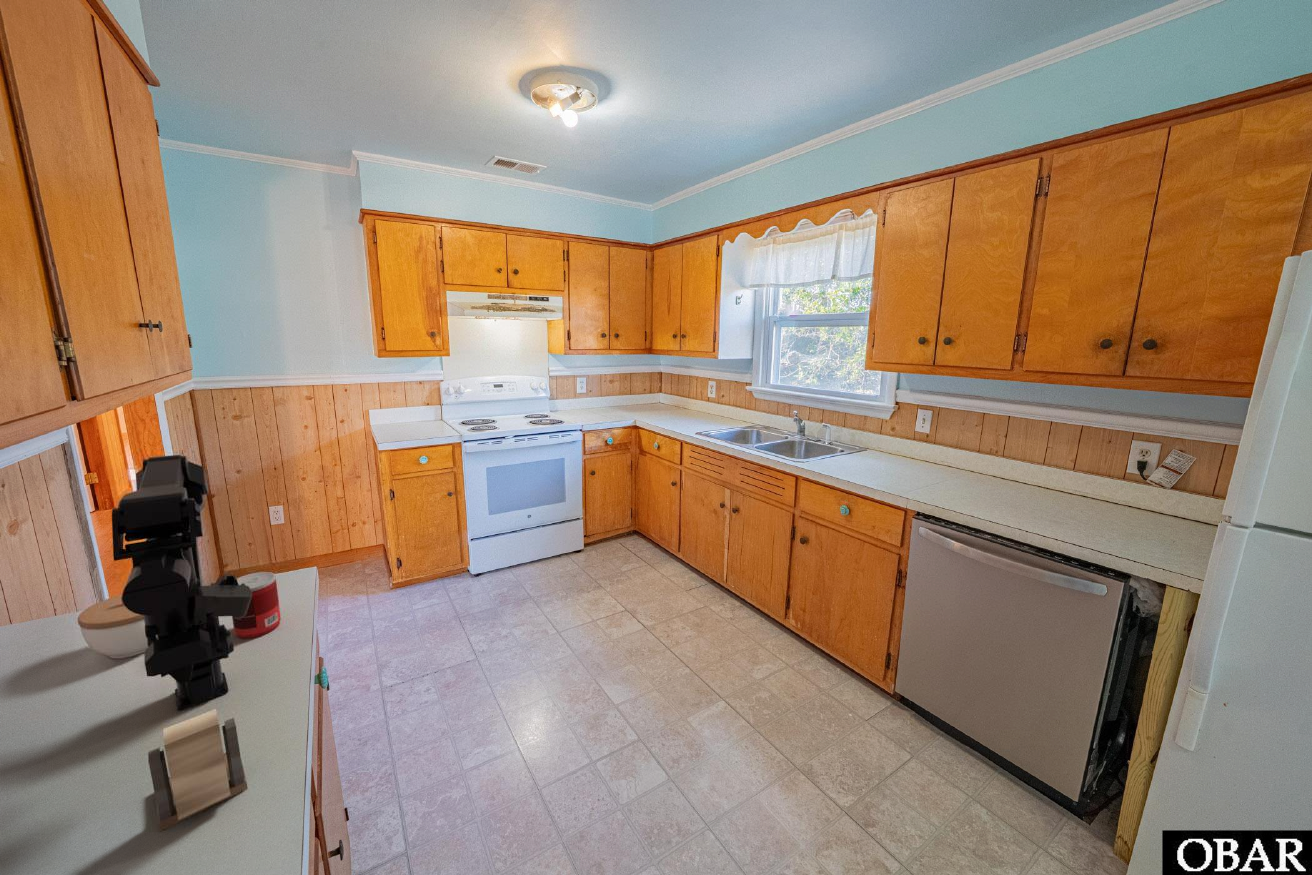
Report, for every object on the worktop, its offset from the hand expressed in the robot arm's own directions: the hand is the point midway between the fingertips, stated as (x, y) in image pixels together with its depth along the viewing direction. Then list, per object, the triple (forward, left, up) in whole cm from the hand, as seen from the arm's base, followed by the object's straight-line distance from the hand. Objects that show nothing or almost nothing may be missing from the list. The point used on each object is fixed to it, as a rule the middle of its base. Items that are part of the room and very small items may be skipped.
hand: (185, 681), depth 71 cm
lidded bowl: (-41, -6, -12) cm, 43 cm away
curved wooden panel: (+12, 0, -10) cm, 16 cm away
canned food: (-33, +12, -12) cm, 37 cm away
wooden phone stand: (+8, 0, -12) cm, 15 cm away
